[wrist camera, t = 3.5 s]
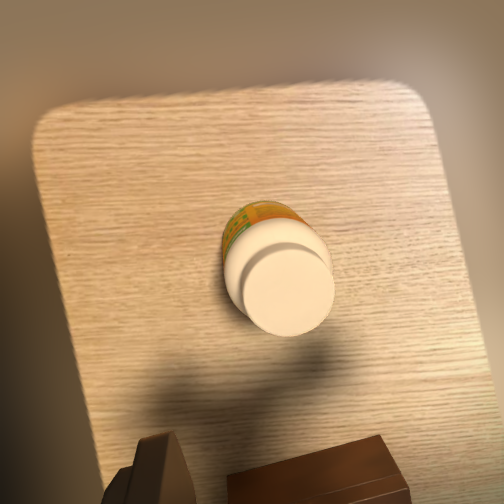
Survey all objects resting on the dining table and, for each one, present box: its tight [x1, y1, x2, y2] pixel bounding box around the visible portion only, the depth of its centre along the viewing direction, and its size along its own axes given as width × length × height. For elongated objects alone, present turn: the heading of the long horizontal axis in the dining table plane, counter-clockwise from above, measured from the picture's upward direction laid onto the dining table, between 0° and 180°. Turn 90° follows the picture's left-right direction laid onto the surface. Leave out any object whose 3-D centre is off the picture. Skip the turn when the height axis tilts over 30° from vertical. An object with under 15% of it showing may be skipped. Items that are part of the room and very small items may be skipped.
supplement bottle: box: [222, 200, 335, 337], centre depth 22 cm, size 5×5×10 cm
